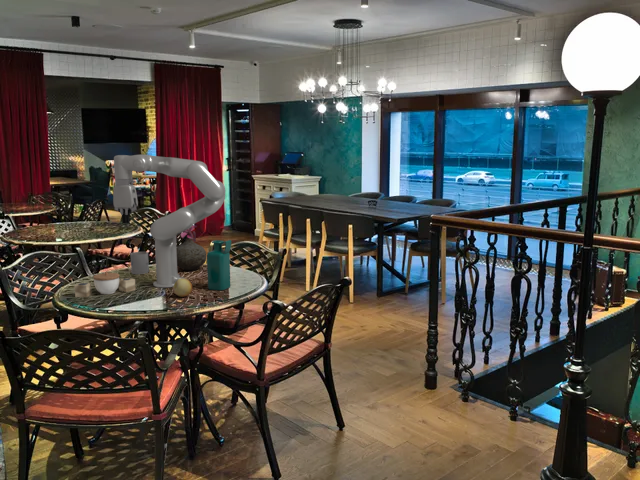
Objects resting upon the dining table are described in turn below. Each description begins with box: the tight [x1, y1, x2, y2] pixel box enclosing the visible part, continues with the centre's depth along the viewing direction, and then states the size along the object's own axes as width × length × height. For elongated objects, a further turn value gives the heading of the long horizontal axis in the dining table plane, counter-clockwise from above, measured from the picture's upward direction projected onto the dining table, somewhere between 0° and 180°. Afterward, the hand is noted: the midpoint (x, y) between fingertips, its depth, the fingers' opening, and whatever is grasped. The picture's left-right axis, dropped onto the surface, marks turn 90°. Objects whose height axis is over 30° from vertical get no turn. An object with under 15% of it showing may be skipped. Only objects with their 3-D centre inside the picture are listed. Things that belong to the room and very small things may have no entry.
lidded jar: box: [93, 271, 120, 295], centre depth 256 cm, size 11×11×9 cm
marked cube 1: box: [74, 282, 93, 298], centre depth 252 cm, size 5×5×5 cm
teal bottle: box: [206, 239, 232, 292], centre depth 262 cm, size 10×8×22 cm
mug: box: [130, 251, 150, 275], centre depth 299 cm, size 12×9×10 cm
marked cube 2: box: [118, 277, 136, 293], centre depth 261 cm, size 5×5×5 cm
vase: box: [176, 224, 207, 272], centre depth 302 cm, size 17×17×30 cm
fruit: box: [172, 277, 193, 298], centre depth 249 cm, size 8×8×8 cm
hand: (126, 223), depth 265 cm, fingers closed
